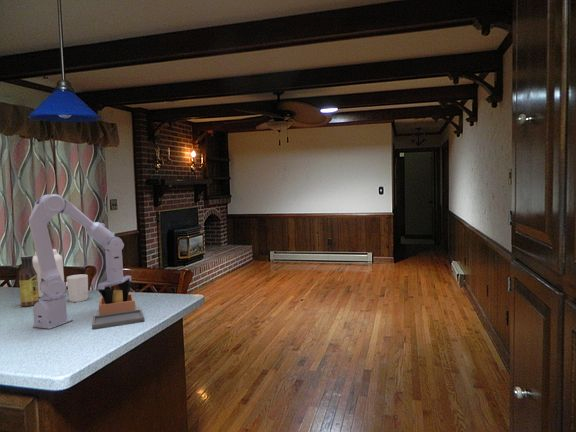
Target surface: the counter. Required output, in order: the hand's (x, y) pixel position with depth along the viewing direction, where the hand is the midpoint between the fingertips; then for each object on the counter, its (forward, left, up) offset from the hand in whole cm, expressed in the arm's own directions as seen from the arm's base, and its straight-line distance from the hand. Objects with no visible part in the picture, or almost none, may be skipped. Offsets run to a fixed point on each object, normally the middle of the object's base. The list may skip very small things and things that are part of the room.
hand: (116, 303), depth 156 cm
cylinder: (0, 0, -2) cm, 2 cm away
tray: (-11, -10, -2) cm, 15 cm away
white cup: (+7, +28, -2) cm, 29 cm away
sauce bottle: (-4, +42, -2) cm, 42 cm away
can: (+11, +50, -2) cm, 51 cm away
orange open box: (0, 0, -2) cm, 2 cm away
